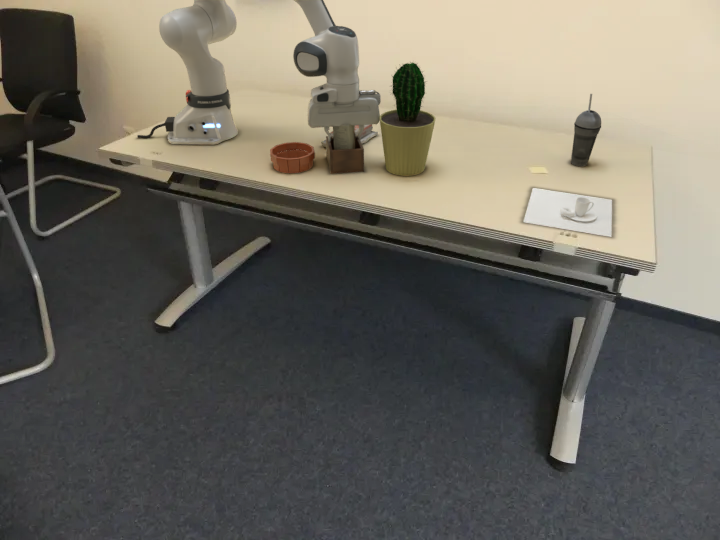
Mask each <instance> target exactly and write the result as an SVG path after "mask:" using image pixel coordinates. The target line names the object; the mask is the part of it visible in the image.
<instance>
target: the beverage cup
mask: <svg viewBox="0 0 720 540" xmlns="http://www.w3.org/2000/svg"><path fill="white" fill-rule="evenodd" d="M592 99H593V93H590V94H589V101H588V109H587V110H584V111H582V112H580V113H579V115H578V116H577V117H576V119H575V121H574V124H573V125H574V126H573V127H574V129H573V130H574V131H573V132H574V133H573V142H572V149H571V155H570V156H571V157H570V158H571V159H570V164H571V165H573V166H575V167H586V166H587V165H588V163H589V161H590V158H591V154H592V152H593V149H594V146H595V143H596V140H597V138H598V135H599V133H600V131H601V128H602V118H601V116H600V114H599V113H598V112H597V111H596V110H593V109H591V107H592Z"/></svg>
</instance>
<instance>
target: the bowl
mask: <svg viewBox="0 0 720 540" xmlns="http://www.w3.org/2000/svg"><path fill="white" fill-rule="evenodd" d="M269 156H270V162H271V163H272V166H273V169H274V170H275V171H277V172H278V173H283V174H300V173H304V172H307V171H309V170H310V169H312V168H313V167H314V160H315V159H316V152H315V147H314V146H313V145H312V144H309V143H306V142H301V141H291V142H290V141H288V142H282V143H279V144H276V145H273V147H271V148H270V149H269Z"/></svg>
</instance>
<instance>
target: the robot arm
mask: <svg viewBox="0 0 720 540" xmlns="http://www.w3.org/2000/svg"><path fill="white" fill-rule="evenodd" d="M293 1H294V2H295V3H296V4H297V5H298V6H299V7H300V8H301V10H302V11H303V14H304V15H305V17H306V20H307V21H308V24H309V25H310V27H311V29H312V31H313V34H314V36H312V37H309V38H306V39H303V40H301V41H300V42H298V43H297V44H296V46H295V47H294V49H293V55H292V56H293V57H292V58H293V63H294V67H295V68H296V69H297V71H298V72H299V73H300V74H301V75H303V76H304V77H309V78H314V77H315V78H316V77H325V78H326V82H325V83H323V84H321V85H318V86H314V87H312V88H311V89H310V97H311V98H310V99H309V100H308V101H309V102H308V105H307V125H308V126H309V127H310V128H311V129H312V128H313V129H314V128H315V129H316V128H317V129H318V128H323V130H324V132H325V134H326V136H328V141H329V142H330V141H334V135H333V134H330V133H331V131H330V128H333V127H335V126H340V125H343V124H351V126H353V125H358V126H359V130H358V132H355V140H360V134H361V133H362V131H363V130H364V125H371V124H372V125H378V124H379V123H380V119H379V117H380V115H381V113H380V107H379V106H380V104H381V101H382V100H381V99H382V97H381V93H380V92H379V91H376V90H375V89H369V90H365V89H363V90H361V89H360V77H359V67H360V47H359V40H358V36H357V34H356V31H354V30H353V29H352V28H349V27H348V26H343V25H336V23H335V22H334V20H333V17H332V16H331V13H330V11H329V9H328V7H327V5H326V3H325V1H324V0H293ZM158 31H159V35H160V38H161V39H162V41H163V42H164V44H165V45H167V47H168V48H170V49H171V50H173V51H174V52H176V54H177V55H178V56H179V57H180V58H181V61H182V62H183V64H184V66H185V69H186V71H187V77H188V80H189V81H188V82H189V86H190V89H187V90H186V91H185V101H186V104H185V106H184V107H183V108H182V109H181V110H180V111H178V113H177V114H176V115H174V116H167V117H166V119H165V121H164V122H163V123H160V124H157V125H155V126H153V128H151V130H150V132H149V134H146V135H145V134H143V135H142V134H137V138H139V139H148V138H152V136H153V135H154V132H156V130H158V129H159V128H162V127H164V128H165V131H166V132H167V141H168V143H170V144H171V145H206V146H207V145H209V146H210V145H213V146H215V145H218V144H221V143H223V142H225V141H227V140H230V139H233V138H235V137H236V136H238V134H239V130H238V128H237V126H236V123H235V121H234V120H235V119H234V117H233V113H232V109H231V108H232V101H231V94H230V91H229V88H228V86H227V80H226V79H227V77H226V71H225V66H224V64H223V63H222V62H221V61H220V60H218V59H217V58H215V57H213V56H212V55H211V52H210V48H209V45H211V44H215V43H220V42H223V41H224V40H226V39H228V38H230V37H231V36H233V35H234V34H235V32H236V31H237V17H236V14H235V12H234V10H233V9H232V8H231V6H230V5H228V4H227V2H226V0H193V5H190V6H186V7H180V8H175V9H173V10H171V11H169V12H167V13H166V14H163V15H162V16H161V17H160V20H159V25H158Z"/></svg>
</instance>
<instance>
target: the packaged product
mask: <svg viewBox="0 0 720 540" xmlns="http://www.w3.org/2000/svg"><path fill="white" fill-rule="evenodd" d="M358 130H359V126H358V125H355V132H358ZM330 134H333V130H332V131H330ZM378 135H379V132H378V131H376V130H375V131H374V130H373V124H371V125H364V130H363V131H362V133H361V134H360V141H361V143H362V145H364V144H366V143H368V141H369V140H370V139H372V138H373V137H376V136H378ZM320 143H321V147H324V148H326V139H324V140H322V141H321V142H320Z"/></svg>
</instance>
